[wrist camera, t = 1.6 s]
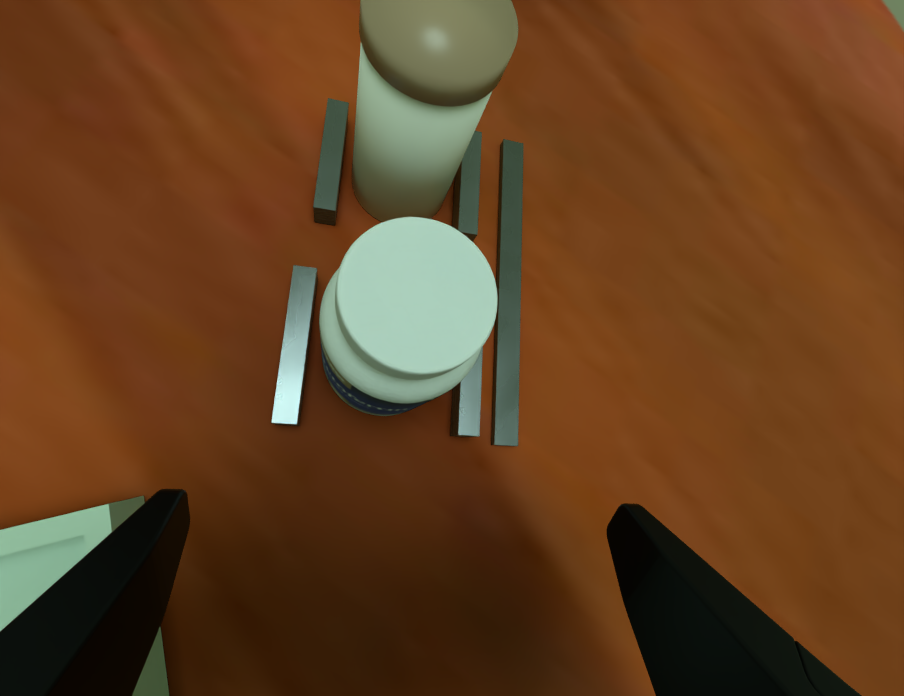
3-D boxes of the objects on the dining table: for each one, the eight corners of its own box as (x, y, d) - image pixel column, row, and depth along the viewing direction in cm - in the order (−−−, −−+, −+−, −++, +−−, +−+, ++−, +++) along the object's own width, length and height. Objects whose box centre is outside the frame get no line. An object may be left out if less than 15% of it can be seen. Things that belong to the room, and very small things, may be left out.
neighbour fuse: (456, 223, 25) (535, 78, 15) (360, 233, 23) (380, 81, 14) (434, 137, 26) (496, -52, 16) (340, 142, 24) (346, -62, 15)
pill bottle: (296, 373, 21) (268, 311, 12) (367, 279, 23) (391, 160, 14) (401, 440, 22) (454, 432, 12) (462, 343, 23) (548, 271, 14)
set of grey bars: (514, 446, 23) (526, 445, 22) (274, 431, 20) (270, 429, 19) (519, 149, 27) (530, 132, 26) (320, 105, 24) (319, 83, 23)
